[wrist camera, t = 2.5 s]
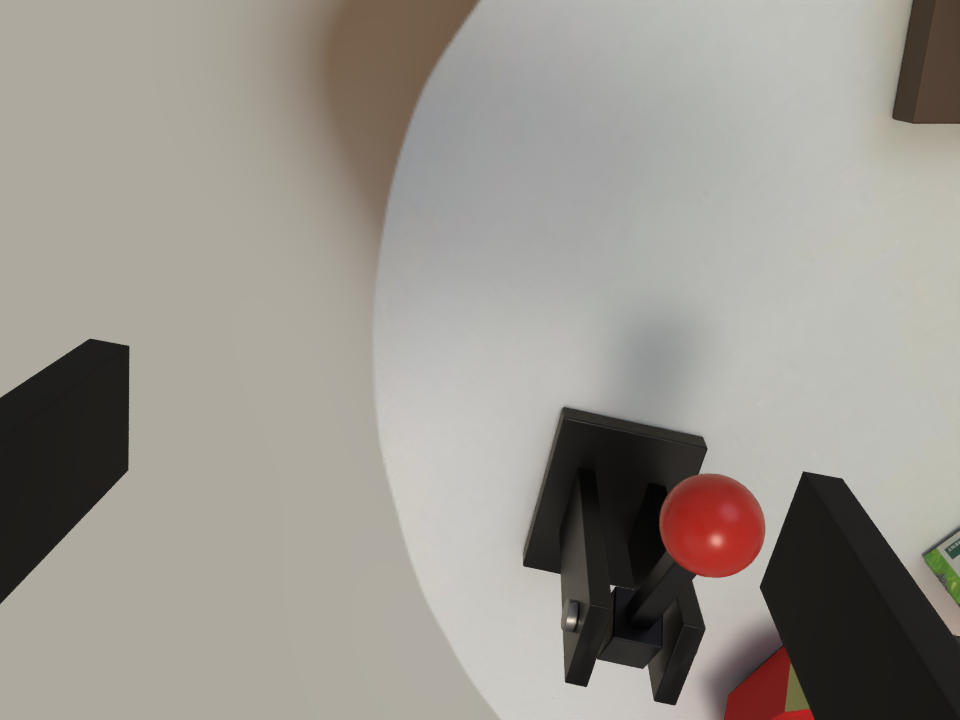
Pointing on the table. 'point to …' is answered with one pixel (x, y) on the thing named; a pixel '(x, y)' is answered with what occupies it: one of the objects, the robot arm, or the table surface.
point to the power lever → (684, 560)
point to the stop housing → (931, 65)
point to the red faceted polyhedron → (769, 693)
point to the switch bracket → (613, 535)
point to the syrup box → (947, 565)
